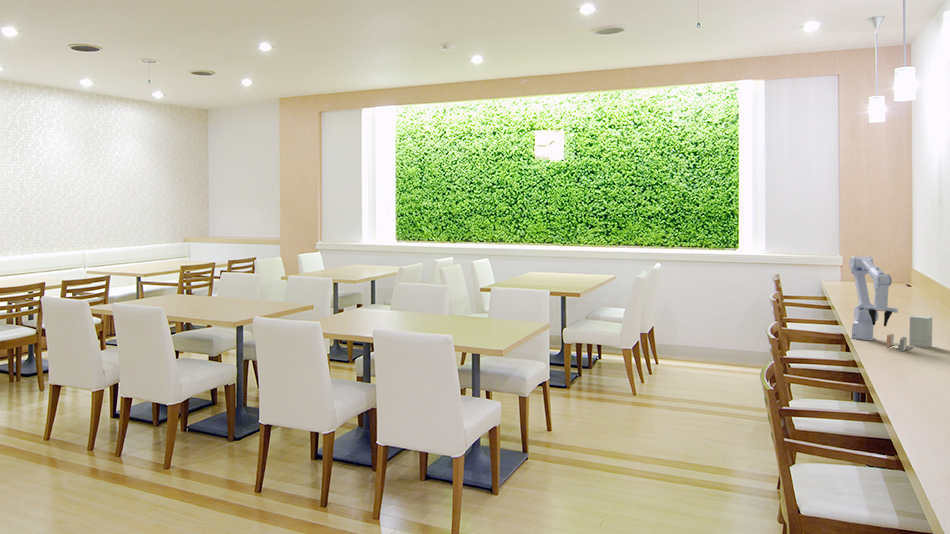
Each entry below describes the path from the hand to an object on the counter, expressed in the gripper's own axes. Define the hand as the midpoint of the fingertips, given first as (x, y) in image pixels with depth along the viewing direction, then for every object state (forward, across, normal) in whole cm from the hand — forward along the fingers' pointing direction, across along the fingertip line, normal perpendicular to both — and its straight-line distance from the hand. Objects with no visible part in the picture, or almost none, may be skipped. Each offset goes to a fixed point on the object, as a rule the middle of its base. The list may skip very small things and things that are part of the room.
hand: (879, 325), depth 334 cm
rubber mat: (+10, +10, 0) cm, 14 cm away
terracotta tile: (+10, +5, 0) cm, 11 cm away
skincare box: (+10, +16, +12) cm, 22 cm away
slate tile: (+10, +12, -7) cm, 17 cm away
